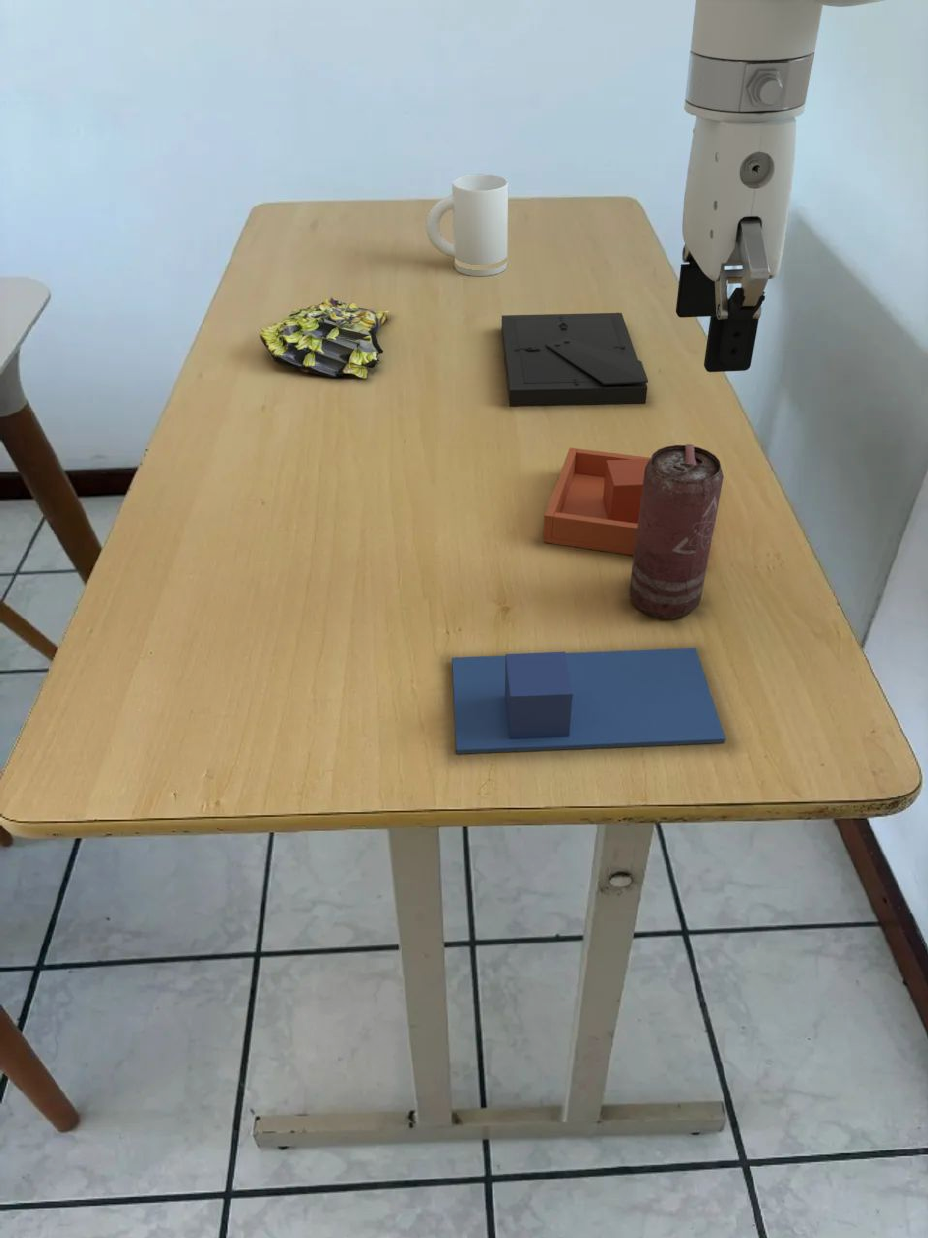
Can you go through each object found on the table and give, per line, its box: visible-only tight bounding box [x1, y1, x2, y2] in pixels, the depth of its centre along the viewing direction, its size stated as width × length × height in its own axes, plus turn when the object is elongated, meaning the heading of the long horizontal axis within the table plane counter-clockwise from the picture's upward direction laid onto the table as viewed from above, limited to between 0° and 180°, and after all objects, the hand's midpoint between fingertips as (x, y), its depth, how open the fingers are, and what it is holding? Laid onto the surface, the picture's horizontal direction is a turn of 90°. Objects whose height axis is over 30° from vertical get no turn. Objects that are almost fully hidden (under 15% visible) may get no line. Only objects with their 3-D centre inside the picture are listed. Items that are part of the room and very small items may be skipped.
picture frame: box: [501, 312, 649, 407], centre depth 118 cm, size 16×3×21 cm
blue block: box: [505, 651, 573, 739], centre depth 71 cm, size 4×4×4 cm
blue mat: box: [451, 647, 727, 755], centre depth 75 cm, size 20×10×1 cm, turn 92°
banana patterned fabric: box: [259, 296, 390, 379], centre depth 124 cm, size 20×16×7 cm
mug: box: [425, 173, 509, 277], centre depth 140 cm, size 8×12×12 cm
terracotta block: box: [603, 459, 650, 524], centre depth 92 cm, size 4×4×4 cm
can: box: [629, 443, 724, 620], centre depth 80 cm, size 6×6×14 cm
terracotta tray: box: [542, 447, 651, 557], centre depth 93 cm, size 15×13×3 cm
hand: (710, 341), depth 72 cm, fingers open, 9 cm apart
